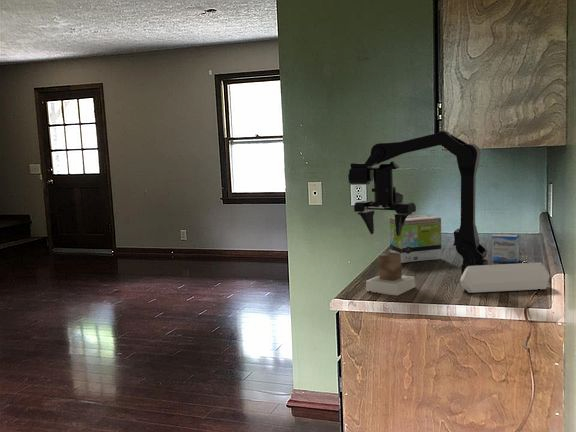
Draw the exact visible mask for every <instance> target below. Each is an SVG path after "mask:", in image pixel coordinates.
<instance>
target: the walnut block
mask: <svg viewBox="0 0 576 432" xmlns="http://www.w3.org/2000/svg"><path fill="white" fill-rule="evenodd" d="M378 263H379V264H378V268H379V269H378V270H379V271H378V272H379V275H380V279H382V280H390V281H395V280H397V279H399V278H402V276H403V274H402V263H401V253H391V252H390V251H386V252H384V253H381V254H378Z"/></svg>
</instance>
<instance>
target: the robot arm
mask: <svg viewBox="0 0 576 432" xmlns="http://www.w3.org/2000/svg"><path fill="white" fill-rule="evenodd" d="M437 146H441V147H443V148H444V149H445V150H447V151H448V153H450V154H452V155H453V156H456V163H457V168H458V171H459V175H460V225H459V228H456V229H455V230H454V231H453V238H454V241H453V245H452V246H455V251H456V253H457V254H459V255H460V256H461V257H462V264H461V265H460V268H461V270H460V271H461V276H462V274H463V272H464V270H465V269H466V268H467V267H468V266H478V265H489V262H488V259H485V258H486V256H487V253H488V250H487V249H486V248H485V247H484V246H483V245H482V244H481V243H480V237H479V232H478V229H477V226H476V176H477V172H478V168H479V164H480V158H481V153H482V152H481V149H480V147H479V146H478V145H477V144H475V143H467V142H465V141H464V140H462V139H460V138H458V137H456V136H454V135H453V134H451V133H450V132H449V131H447V130H443V131H442V130H440V131H438V132H435V133H432V134H428V135H423V136H420V137H415V138H411V139H408V140H403V141H393V142H392V141H389V142H379V143H375V144H374V145H373V146H372V147H371V148H370V155H369V156H368V158H367V160H366V161H365V162H360V163H359V162H351V163H350V167H349V170H348V177H347V178H348V182H349V185H351V186H354V185H355V186H356V185H368V186H369V185H370V184H371V182H373V188H371V192H372V193H374V194H373V195H374V197H373V199H374V201H373V200H360V201H357V202H355V203H354V205H353V211H354V212H356V213H357V215H359V216H360V217H361V218H362V220H363V222H364V224H365V225H366V227H367V229H368V231H369V234H370V235H374V231H375V225H374V215H375V212H376V211H395V213H396V214H394V217H395V225H396V233H397V236H400V233H401V230H402V227H403V224H404V222H405V219H406V218H407V216H412V213H416V212H417V206H416V204H415V202H413V201H412V202H411V201H404V195H403V194H401V193H400V192H397V189H396V186H394V181H393V180H394V179H393V170H397V169H400V165H398V164H397V163H396V162H395V161H394V159H395V158H398V157H399V156H402V155H404V154H409V153H411V152H415V151H421V150H424V149H430V148H434V147H437ZM391 160H392V161H391ZM389 161H390V163H385V162H389ZM377 165H379V166H378V167H377ZM373 166H376V167H373ZM375 210H376V211H375ZM461 276H460V277H461Z"/></svg>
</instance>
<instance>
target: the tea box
mask: <svg viewBox="0 0 576 432" xmlns="http://www.w3.org/2000/svg"><path fill="white" fill-rule="evenodd" d="M389 252H391V253H401V264H405V263H412V262H420V261H421V262H422V261H433V260H435V261H436V260H441V259H442V218H441V217H439V216H434V215H430V214H422V215H421V214H419V215H408V216H407V218H406V219H405V222H404V224H403V227H402V230H401V233H400V236H397V233H396V225H395V216H394V217H390V218H389Z"/></svg>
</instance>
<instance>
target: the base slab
mask: <svg viewBox="0 0 576 432" xmlns="http://www.w3.org/2000/svg"><path fill="white" fill-rule="evenodd" d="M415 280H416V277H415V276H409V275H402V278H399V279H397V280H395V281H390V280H382V279H380V274H379V275H377V276H375V277H372V278H370V279H367V280H366V281H365V286H366V287H365V289H366V292H369V291H371V292H370V293H376V292H377V294H378V293H379V294H384V295H390V296H391V295H392V296H397V297H398V296H400V295H401V294H403V293H406V292H408V291H410V290H412V289H414V288H416V281H415Z"/></svg>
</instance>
